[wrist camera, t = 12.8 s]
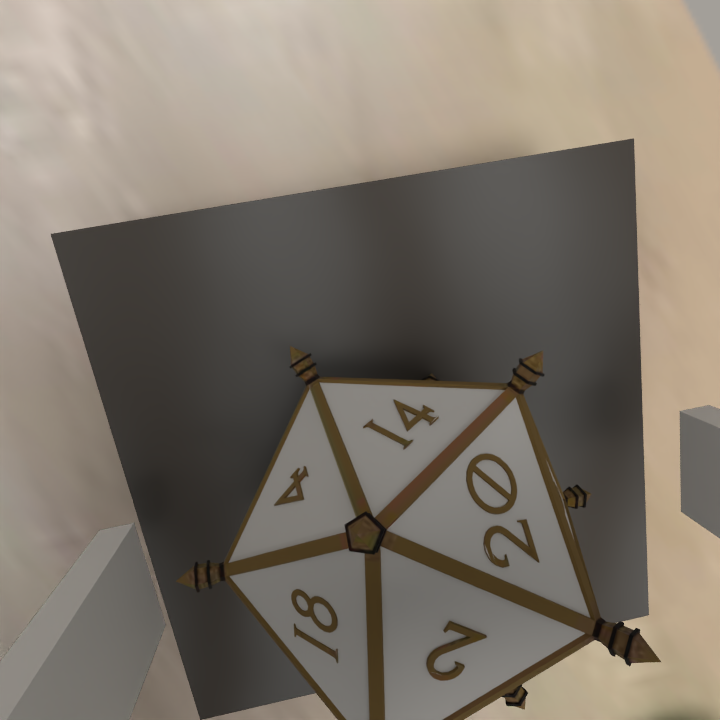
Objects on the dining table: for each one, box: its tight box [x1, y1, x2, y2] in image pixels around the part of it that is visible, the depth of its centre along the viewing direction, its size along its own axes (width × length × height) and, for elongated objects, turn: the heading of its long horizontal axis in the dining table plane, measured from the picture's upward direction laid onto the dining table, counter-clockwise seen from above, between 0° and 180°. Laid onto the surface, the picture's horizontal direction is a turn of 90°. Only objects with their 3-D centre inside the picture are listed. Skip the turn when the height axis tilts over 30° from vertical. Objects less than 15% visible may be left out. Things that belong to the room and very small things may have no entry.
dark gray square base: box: [51, 139, 649, 720], centre depth 17 cm, size 16×16×5 cm
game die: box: [176, 346, 661, 720], centre depth 11 cm, size 9×8×10 cm
